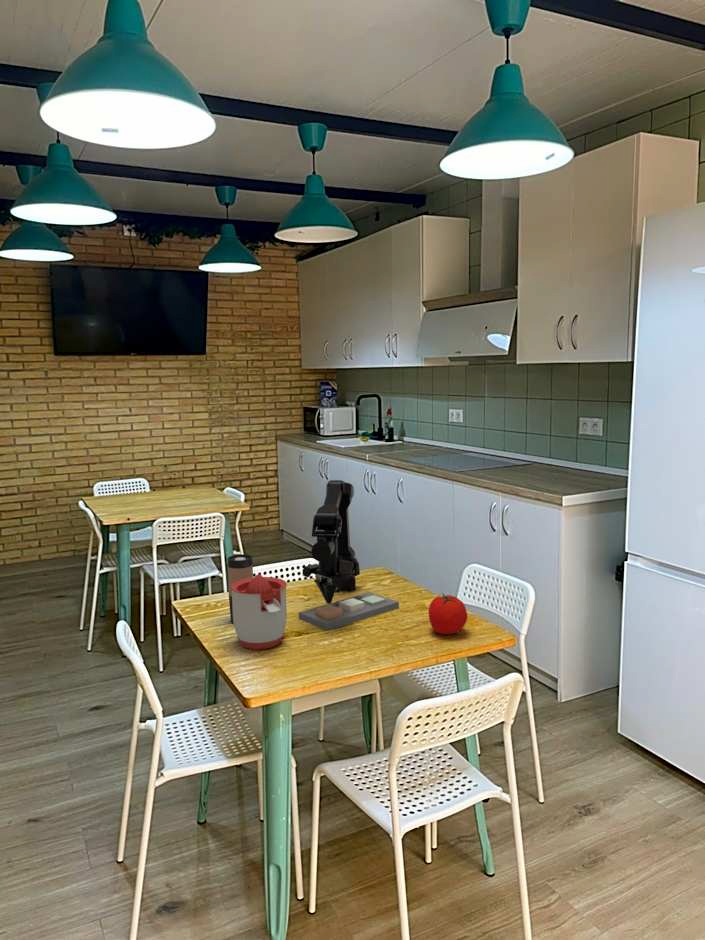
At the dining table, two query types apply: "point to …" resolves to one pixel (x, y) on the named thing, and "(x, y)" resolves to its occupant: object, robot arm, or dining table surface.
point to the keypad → (348, 613)
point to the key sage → (373, 600)
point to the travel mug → (238, 573)
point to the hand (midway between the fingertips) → (329, 603)
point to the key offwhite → (351, 605)
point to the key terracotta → (329, 612)
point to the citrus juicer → (259, 611)
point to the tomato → (447, 614)
